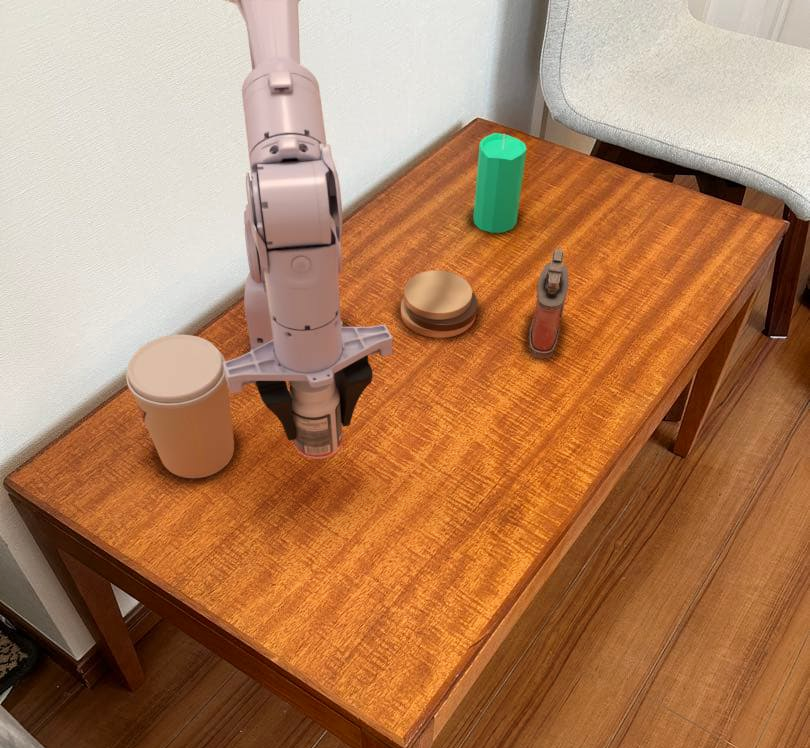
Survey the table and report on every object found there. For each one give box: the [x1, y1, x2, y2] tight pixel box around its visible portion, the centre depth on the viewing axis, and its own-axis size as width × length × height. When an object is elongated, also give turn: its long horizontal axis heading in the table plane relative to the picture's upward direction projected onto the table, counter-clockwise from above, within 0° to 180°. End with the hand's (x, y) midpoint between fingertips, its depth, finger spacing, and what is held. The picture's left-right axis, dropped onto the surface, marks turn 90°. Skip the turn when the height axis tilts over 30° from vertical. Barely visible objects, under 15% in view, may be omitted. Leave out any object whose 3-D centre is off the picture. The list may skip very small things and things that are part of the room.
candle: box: [473, 132, 527, 234], centre depth 111 cm, size 6×6×12 cm
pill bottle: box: [288, 374, 344, 460], centre depth 78 cm, size 5×5×8 cm
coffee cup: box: [125, 334, 235, 479], centre depth 85 cm, size 9×9×12 cm
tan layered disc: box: [400, 269, 479, 339], centre depth 102 cm, size 9×9×3 cm
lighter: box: [528, 248, 570, 359], centre depth 97 cm, size 8×3×10 cm, turn 169°
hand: (316, 425), depth 79 cm, fingers closed on pill bottle, 5 cm apart
